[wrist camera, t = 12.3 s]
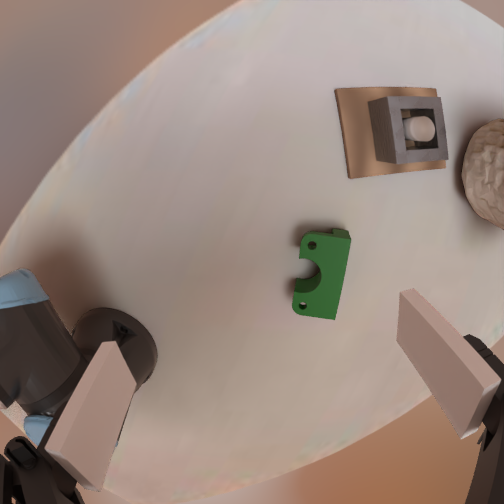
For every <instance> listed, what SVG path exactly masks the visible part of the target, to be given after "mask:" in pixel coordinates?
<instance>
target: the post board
mask: <svg viewBox="0 0 504 504" xmlns="http://www.w3.org/2000/svg"><path fill="white" fill-rule="evenodd" d="M335 95H336V101H337V106H338V112H339V117H340V123H341V129H342V136H343V142H344V149H345V156H346V163H347V171H348V178H350V179H353V178H361V177H368V176H376V175H385V174H393V173H402V172H411V171H421V170H431V169H442V168H446V162H445V160H438V161H426V162H415V163H405V164H393V163H387V162H381V161H376V155H375V147H374V140H373V133H372V127H371V120H370V114H369V109H368V103H367V102H369V101H372V100H376V99H379V98H383V97H387V96H422V97H437V92H436V89H432V88H410V87H365V88H341V89H335ZM401 116H402V122H403V129H404V136H405V144H406V147H411V146H415V144H414V141H430V140H431V139H432V138H433V137H434V134H435V127H434V124H433V122H432V121H431V120H430V119H429V118H428V117H425V116H421V117H411V115H410V111H401Z"/></svg>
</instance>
